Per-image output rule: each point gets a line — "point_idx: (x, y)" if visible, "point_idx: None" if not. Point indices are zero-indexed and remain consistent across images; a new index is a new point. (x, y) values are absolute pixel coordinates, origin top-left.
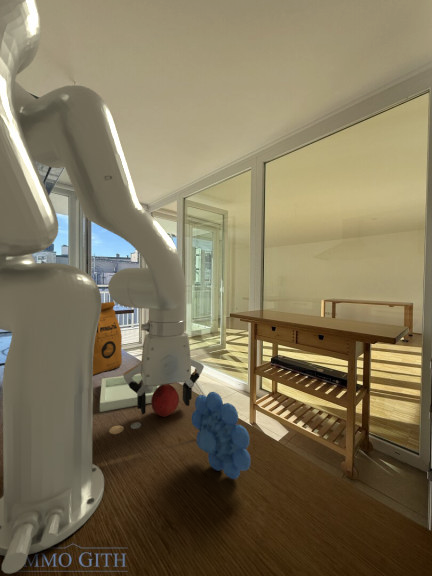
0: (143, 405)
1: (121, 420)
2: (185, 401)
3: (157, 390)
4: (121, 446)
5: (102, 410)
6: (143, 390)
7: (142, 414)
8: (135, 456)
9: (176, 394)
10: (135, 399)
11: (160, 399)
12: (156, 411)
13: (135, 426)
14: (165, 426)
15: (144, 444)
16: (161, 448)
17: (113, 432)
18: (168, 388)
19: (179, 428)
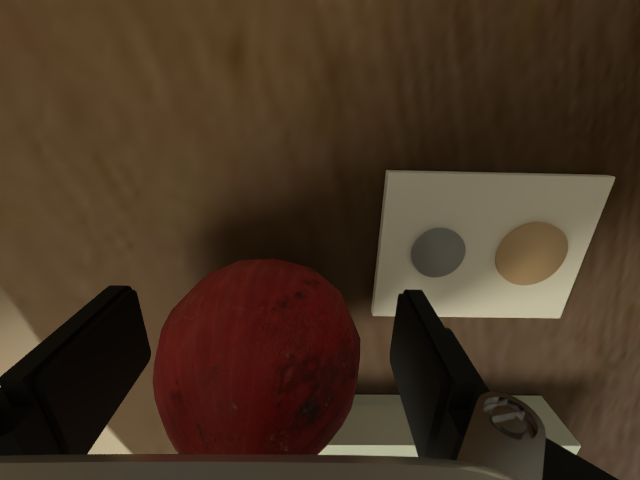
0: (431, 323)
1: (474, 329)
2: (126, 315)
3: (324, 425)
4: (537, 129)
5: (540, 409)
6: (487, 436)
7: (416, 290)
8: (503, 5)
9: (162, 353)
10: (404, 434)
11: (311, 328)
12: (333, 286)
13: (443, 246)
14: (290, 210)
15: (430, 96)
16: (354, 14)
17: (552, 237)
18: (217, 417)
19: (219, 164)
